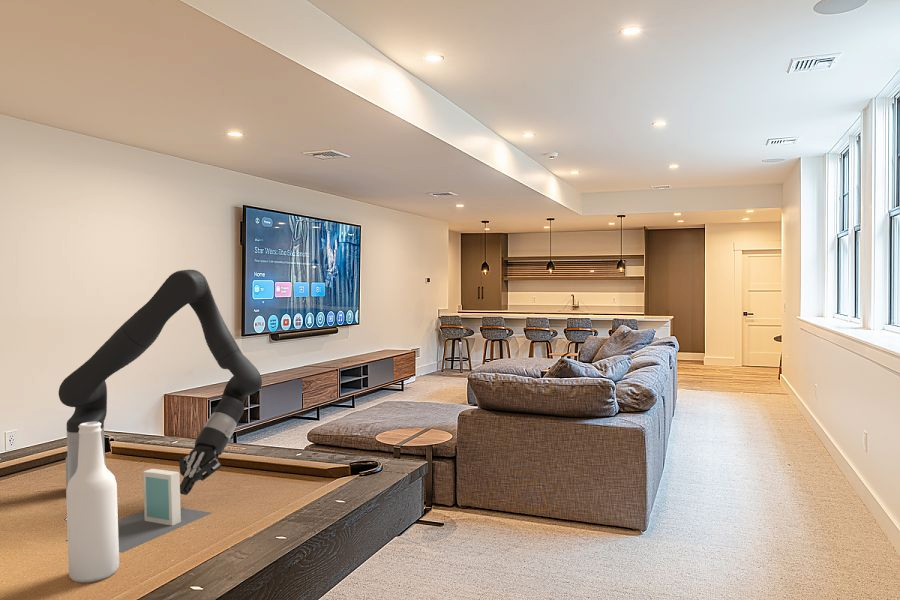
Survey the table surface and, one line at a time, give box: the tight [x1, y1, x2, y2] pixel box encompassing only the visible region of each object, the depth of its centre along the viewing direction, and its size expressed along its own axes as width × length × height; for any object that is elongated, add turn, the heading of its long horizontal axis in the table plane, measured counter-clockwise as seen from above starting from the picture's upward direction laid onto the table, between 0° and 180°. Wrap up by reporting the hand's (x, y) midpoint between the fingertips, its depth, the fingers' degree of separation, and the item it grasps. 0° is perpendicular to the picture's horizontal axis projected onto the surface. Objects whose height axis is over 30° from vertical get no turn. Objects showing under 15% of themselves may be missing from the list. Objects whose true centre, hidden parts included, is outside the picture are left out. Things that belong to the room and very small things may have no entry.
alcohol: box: [65, 422, 120, 584], centre depth 129 cm, size 9×9×30 cm
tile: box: [142, 468, 181, 526], centre depth 157 cm, size 9×3×12 cm, turn 66°
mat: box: [65, 507, 212, 553], centre depth 155 cm, size 18×26×1 cm
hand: (182, 493), depth 163 cm, fingers closed
